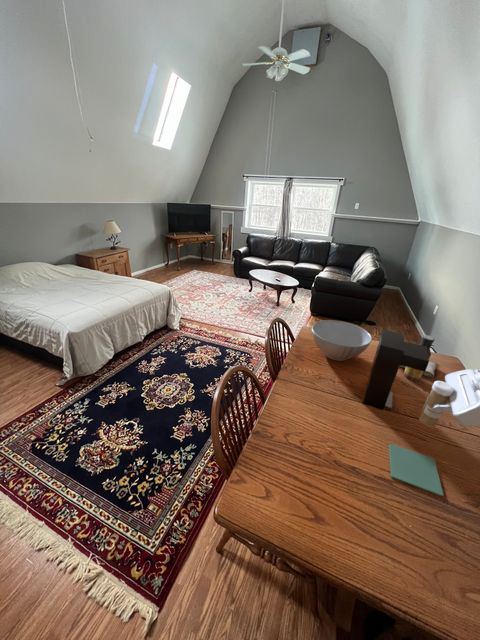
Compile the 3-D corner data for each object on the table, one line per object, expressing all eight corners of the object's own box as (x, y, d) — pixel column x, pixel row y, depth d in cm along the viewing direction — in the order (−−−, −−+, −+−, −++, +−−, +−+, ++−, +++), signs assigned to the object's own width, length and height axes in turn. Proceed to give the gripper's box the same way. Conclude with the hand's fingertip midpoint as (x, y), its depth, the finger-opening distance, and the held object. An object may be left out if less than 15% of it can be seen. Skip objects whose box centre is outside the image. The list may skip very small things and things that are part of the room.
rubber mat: (434, 459, 78) (434, 458, 78) (443, 497, 68) (443, 495, 68) (388, 444, 83) (389, 443, 83) (391, 477, 73) (391, 476, 73)
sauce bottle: (401, 376, 116) (415, 336, 108) (406, 371, 120) (420, 331, 111) (417, 384, 111) (434, 342, 103) (422, 378, 115) (439, 337, 107)
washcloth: (393, 353, 134) (395, 347, 132) (435, 367, 124) (438, 361, 122) (387, 362, 125) (389, 357, 124) (432, 379, 115) (435, 373, 114)
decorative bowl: (360, 377, 114) (367, 353, 109) (300, 357, 126) (304, 334, 121) (369, 350, 135) (375, 329, 130) (317, 335, 147) (320, 315, 142)
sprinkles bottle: (423, 426, 77) (440, 389, 71) (415, 415, 81) (430, 379, 76) (439, 428, 77) (458, 391, 71) (431, 416, 81) (447, 380, 75)
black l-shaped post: (406, 396, 104) (428, 339, 94) (407, 419, 93) (431, 358, 82) (366, 383, 110) (382, 329, 100) (362, 403, 99) (380, 345, 89)
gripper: (476, 359, 76) (424, 375, 85) (495, 401, 60) (429, 416, 68) (489, 377, 76) (436, 391, 85) (511, 424, 60) (443, 436, 68)
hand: (433, 403), depth 76 cm, fingers closed on sprinkles bottle, 4 cm apart
